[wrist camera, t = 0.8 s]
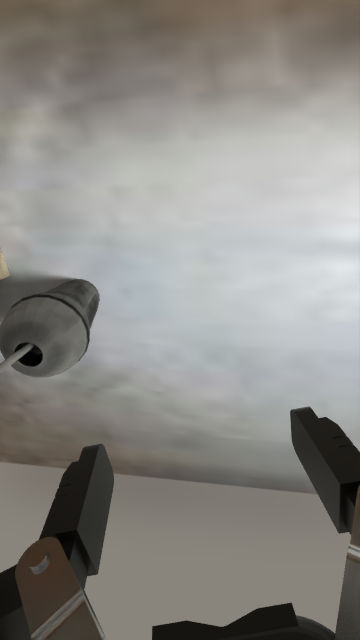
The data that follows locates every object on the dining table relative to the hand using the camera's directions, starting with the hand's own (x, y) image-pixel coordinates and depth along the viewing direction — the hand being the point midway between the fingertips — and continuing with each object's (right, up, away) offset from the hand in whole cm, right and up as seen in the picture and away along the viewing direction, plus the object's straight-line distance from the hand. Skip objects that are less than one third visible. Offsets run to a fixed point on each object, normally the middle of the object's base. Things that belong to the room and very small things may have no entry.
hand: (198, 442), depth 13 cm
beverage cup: (-13, +8, +25) cm, 29 cm away
